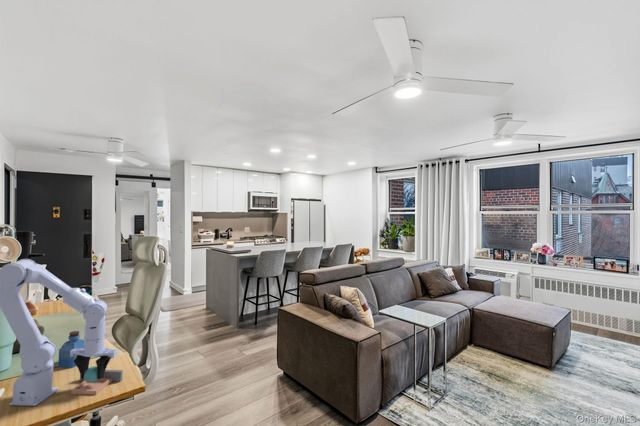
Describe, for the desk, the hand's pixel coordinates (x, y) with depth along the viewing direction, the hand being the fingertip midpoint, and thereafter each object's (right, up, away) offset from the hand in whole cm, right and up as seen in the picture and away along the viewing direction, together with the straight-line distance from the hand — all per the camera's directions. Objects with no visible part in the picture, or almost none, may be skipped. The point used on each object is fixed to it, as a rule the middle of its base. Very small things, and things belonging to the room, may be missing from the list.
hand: (92, 377), depth 108 cm
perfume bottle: (-19, -3, +16) cm, 25 cm away
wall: (0, -3, +5) cm, 6 cm away
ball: (0, -2, 0) cm, 2 cm away
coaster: (0, -3, 0) cm, 3 cm away
